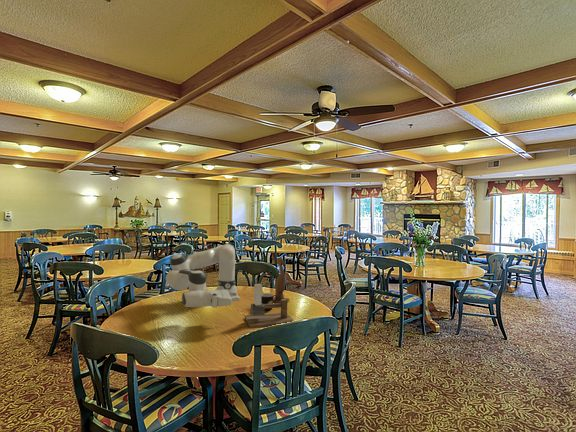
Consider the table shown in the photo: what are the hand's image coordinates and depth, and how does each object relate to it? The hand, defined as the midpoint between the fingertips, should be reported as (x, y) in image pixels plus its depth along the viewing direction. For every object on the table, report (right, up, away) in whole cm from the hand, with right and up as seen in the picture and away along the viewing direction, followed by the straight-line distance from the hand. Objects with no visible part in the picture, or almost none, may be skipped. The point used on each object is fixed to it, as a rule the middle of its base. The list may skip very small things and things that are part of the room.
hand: (237, 296), depth 187 cm
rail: (+11, -10, +4) cm, 15 cm away
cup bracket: (+18, -16, +6) cm, 25 cm away
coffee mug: (+16, -16, +27) cm, 35 cm away
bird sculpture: (+22, -15, +44) cm, 52 cm away
